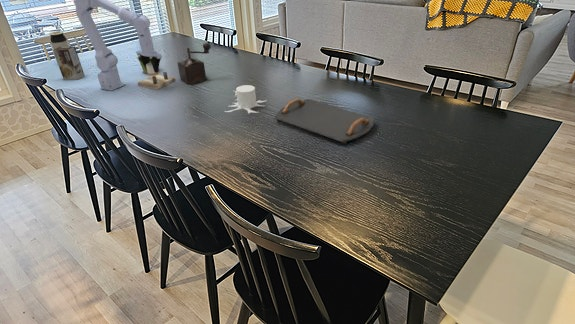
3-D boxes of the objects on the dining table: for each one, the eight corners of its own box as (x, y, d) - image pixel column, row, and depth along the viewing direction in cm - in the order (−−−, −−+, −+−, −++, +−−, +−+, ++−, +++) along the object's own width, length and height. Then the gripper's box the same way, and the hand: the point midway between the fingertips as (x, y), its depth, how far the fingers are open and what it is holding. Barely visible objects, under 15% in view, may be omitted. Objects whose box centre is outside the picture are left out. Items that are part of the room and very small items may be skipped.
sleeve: (160, 73, 189) (158, 63, 186) (153, 76, 185) (151, 66, 182) (153, 71, 191) (151, 62, 188) (146, 75, 187) (143, 65, 184)
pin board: (156, 89, 187) (154, 79, 185) (138, 85, 193) (135, 75, 190) (175, 80, 197) (173, 71, 194) (156, 77, 202) (154, 68, 200)
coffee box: (85, 75, 209) (75, 46, 200) (78, 79, 203) (68, 49, 195) (69, 75, 210) (59, 46, 201) (62, 79, 204) (51, 49, 196)
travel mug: (69, 65, 226) (59, 34, 216) (56, 65, 226) (45, 34, 216) (76, 60, 233) (66, 30, 223) (63, 61, 233) (53, 31, 223)
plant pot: (155, 74, 206) (151, 58, 202) (138, 74, 207) (134, 59, 202) (160, 68, 214) (157, 53, 210) (144, 69, 215) (140, 53, 210)
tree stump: (244, 94, 179) (242, 77, 175) (277, 102, 170) (276, 85, 165) (214, 109, 166) (211, 92, 161) (248, 119, 156) (246, 101, 152)
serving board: (268, 121, 154) (267, 107, 151) (303, 102, 169) (303, 89, 166) (349, 151, 133) (350, 135, 129) (381, 126, 147) (383, 112, 144)
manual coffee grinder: (189, 85, 190) (182, 49, 181) (179, 79, 198) (173, 45, 188) (216, 78, 198) (211, 43, 189) (206, 73, 206) (201, 39, 196)
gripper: (163, 42, 180) (169, 70, 187) (141, 39, 186) (148, 66, 193) (152, 46, 174) (159, 75, 182) (130, 43, 181) (137, 71, 188)
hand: (152, 71), depth 187 cm, fingers closed on sleeve, 5 cm apart
